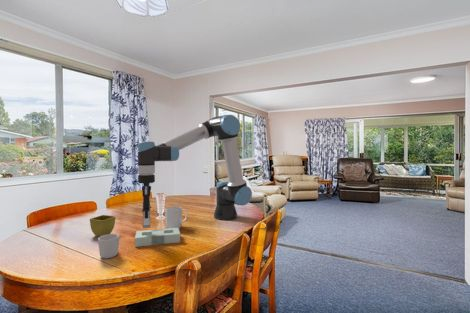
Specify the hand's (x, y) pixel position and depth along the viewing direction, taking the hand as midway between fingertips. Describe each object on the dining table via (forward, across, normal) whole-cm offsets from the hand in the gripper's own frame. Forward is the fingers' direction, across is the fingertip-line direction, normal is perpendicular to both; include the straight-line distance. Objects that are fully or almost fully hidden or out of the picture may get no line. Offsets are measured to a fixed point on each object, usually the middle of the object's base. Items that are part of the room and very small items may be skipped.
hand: (146, 223), depth 120 cm
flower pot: (+9, -17, -22) cm, 29 cm away
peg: (+2, 0, 0) cm, 2 cm away
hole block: (+9, 0, +5) cm, 10 cm away
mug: (+9, -19, +15) cm, 26 cm away
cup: (+9, +11, -14) cm, 20 cm away
